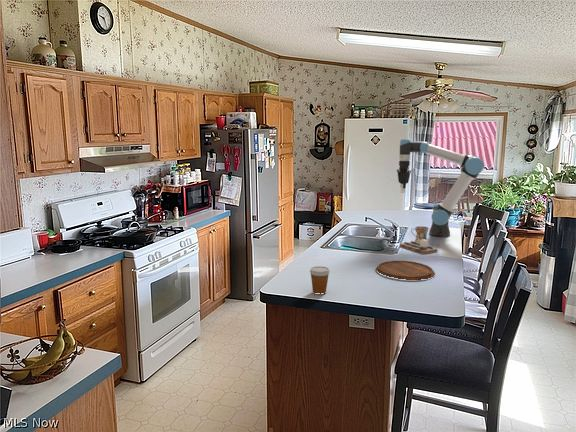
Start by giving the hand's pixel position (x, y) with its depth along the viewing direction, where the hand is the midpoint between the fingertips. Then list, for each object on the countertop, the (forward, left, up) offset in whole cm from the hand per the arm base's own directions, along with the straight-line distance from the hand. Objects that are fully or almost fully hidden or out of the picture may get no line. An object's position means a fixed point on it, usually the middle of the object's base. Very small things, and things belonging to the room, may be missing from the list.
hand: (402, 192), depth 336 cm
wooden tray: (+18, +36, -32) cm, 52 cm away
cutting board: (+61, +69, -33) cm, 98 cm away
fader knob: (+18, +41, -30) cm, 54 cm away
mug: (+3, +22, -33) cm, 39 cm away
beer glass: (+121, +74, -33) cm, 146 cm away
